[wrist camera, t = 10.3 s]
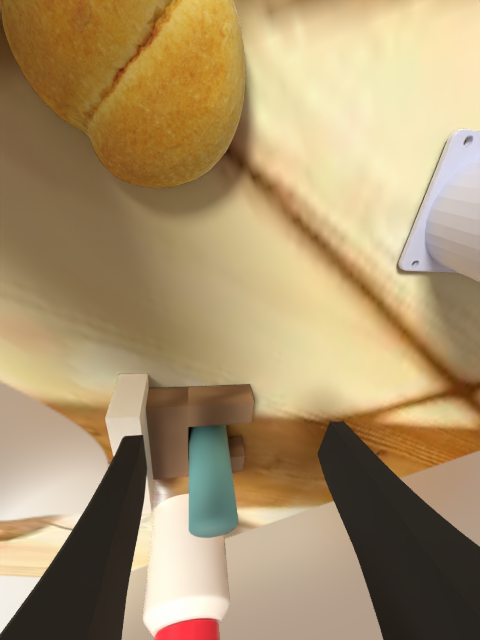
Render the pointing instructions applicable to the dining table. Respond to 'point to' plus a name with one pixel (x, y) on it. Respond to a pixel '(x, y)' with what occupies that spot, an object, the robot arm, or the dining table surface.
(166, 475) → the block
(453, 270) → the robot arm
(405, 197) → the dining table surface
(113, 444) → the board
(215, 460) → the dowel
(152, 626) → the pill bottle
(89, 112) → the bread roll
